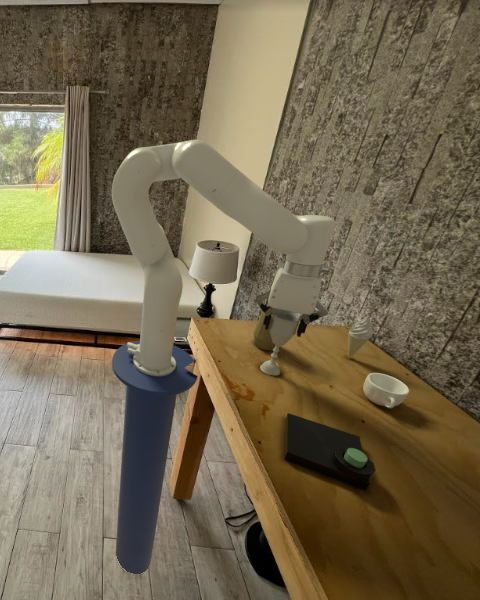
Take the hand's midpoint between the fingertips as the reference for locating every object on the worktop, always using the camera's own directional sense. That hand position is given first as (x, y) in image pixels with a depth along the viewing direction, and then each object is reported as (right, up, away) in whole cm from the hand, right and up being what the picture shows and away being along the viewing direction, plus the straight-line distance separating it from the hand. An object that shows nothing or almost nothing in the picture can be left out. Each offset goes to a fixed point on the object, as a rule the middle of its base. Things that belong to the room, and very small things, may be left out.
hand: (282, 330), depth 84 cm
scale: (-4, -24, -18) cm, 30 cm away
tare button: (-2, -22, -25) cm, 33 cm away
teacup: (+20, -18, -6) cm, 27 cm away
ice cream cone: (+27, -10, +10) cm, 30 cm away
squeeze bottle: (+5, -7, +17) cm, 19 cm away
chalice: (0, -12, +6) cm, 13 cm away
